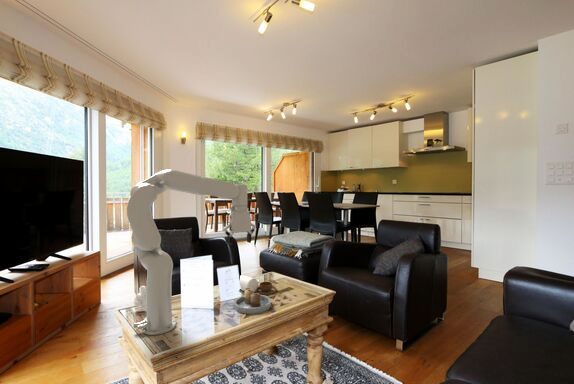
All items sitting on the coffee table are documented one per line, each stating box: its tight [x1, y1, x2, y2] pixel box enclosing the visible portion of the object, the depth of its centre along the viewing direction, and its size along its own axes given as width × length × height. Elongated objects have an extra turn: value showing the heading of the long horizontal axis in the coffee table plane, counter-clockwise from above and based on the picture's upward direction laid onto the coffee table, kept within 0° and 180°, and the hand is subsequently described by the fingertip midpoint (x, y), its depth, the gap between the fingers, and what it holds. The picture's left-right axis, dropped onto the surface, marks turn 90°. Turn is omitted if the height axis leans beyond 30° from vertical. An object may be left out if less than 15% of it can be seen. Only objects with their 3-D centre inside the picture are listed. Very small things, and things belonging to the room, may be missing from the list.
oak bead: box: [244, 289, 255, 304], centre depth 144 cm, size 5×5×6 cm
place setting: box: [246, 281, 277, 296], centre depth 161 cm, size 18×20×6 cm
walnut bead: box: [251, 292, 261, 308], centre depth 139 cm, size 5×5×6 cm
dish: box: [232, 294, 272, 315], centre depth 142 cm, size 18×18×2 cm
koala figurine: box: [133, 285, 147, 313], centre depth 138 cm, size 8×7×12 cm
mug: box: [239, 274, 261, 293], centre depth 165 cm, size 12×10×8 cm
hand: (240, 243), depth 143 cm, fingers open, 9 cm apart
